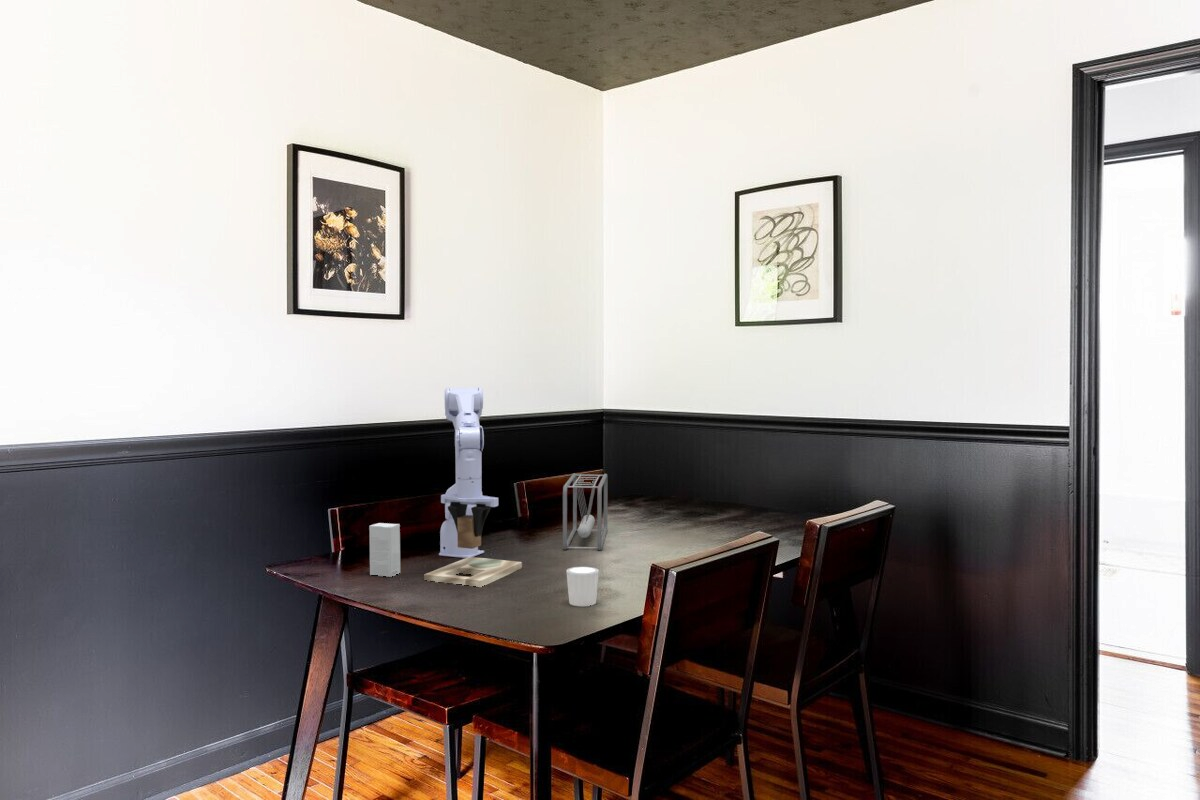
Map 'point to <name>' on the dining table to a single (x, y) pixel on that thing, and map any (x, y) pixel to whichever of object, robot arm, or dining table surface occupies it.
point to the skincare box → (384, 549)
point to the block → (467, 533)
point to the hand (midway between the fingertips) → (469, 535)
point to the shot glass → (582, 585)
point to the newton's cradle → (588, 519)
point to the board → (474, 571)
